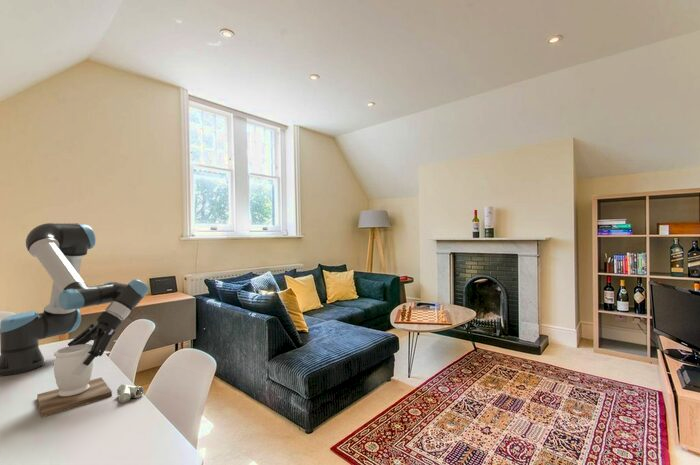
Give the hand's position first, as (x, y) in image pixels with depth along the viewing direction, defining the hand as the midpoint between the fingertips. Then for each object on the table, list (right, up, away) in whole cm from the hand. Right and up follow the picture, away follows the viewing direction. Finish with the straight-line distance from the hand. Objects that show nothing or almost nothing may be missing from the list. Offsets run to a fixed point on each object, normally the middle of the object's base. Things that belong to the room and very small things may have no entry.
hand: (65, 370), depth 113 cm
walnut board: (+1, -10, +2) cm, 10 cm away
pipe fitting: (+20, -10, 0) cm, 23 cm away
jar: (0, -9, +3) cm, 9 cm away
